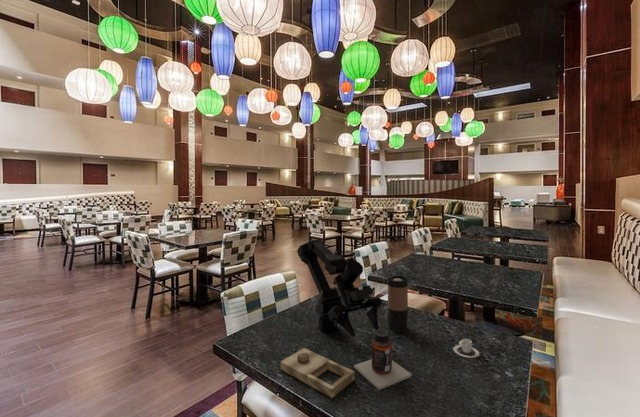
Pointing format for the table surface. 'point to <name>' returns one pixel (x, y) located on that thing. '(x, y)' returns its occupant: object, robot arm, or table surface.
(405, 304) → the travel mug
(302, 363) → the sliding-lid wooden box
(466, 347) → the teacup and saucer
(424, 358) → the table surface
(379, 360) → the supplement bottle
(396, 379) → the grey pad
